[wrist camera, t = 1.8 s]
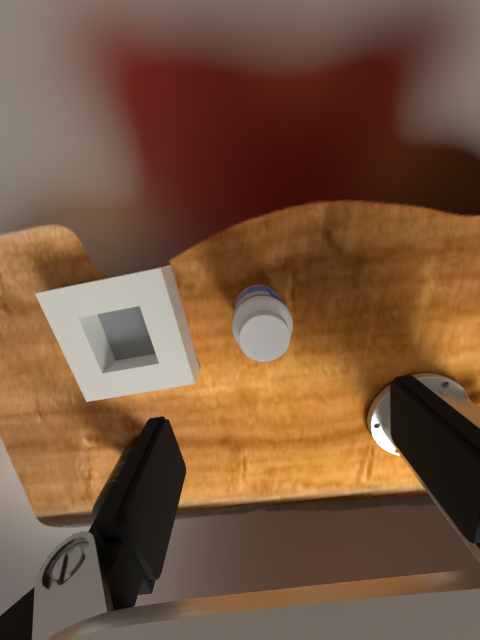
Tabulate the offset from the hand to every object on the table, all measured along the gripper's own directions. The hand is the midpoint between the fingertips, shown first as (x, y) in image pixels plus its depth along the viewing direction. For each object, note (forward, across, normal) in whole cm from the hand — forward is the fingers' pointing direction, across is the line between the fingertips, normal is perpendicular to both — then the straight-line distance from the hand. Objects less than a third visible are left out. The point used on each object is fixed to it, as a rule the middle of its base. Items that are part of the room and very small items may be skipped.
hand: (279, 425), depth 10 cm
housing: (+18, +15, 0) cm, 24 cm away
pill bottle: (+18, 0, 0) cm, 19 cm away
